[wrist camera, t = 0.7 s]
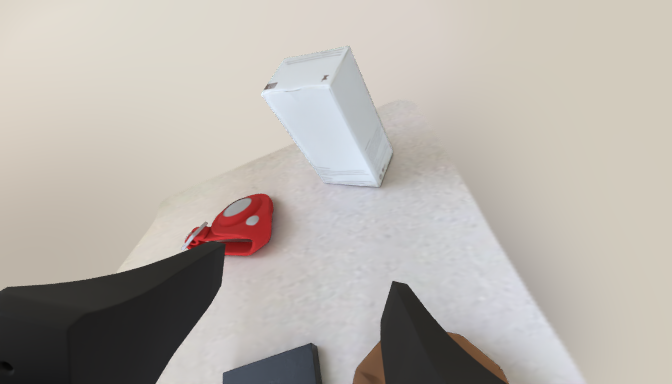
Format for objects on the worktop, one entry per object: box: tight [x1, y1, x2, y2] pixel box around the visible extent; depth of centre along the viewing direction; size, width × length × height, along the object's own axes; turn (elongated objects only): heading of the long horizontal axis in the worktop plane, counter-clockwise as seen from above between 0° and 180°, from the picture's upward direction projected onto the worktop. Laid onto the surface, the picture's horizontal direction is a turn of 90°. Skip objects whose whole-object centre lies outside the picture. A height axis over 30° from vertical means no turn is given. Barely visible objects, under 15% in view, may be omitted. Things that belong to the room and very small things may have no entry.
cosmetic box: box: [261, 46, 393, 187], centre depth 35 cm, size 8×6×15 cm
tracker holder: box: [181, 194, 273, 256], centre depth 40 cm, size 12×4×10 cm
